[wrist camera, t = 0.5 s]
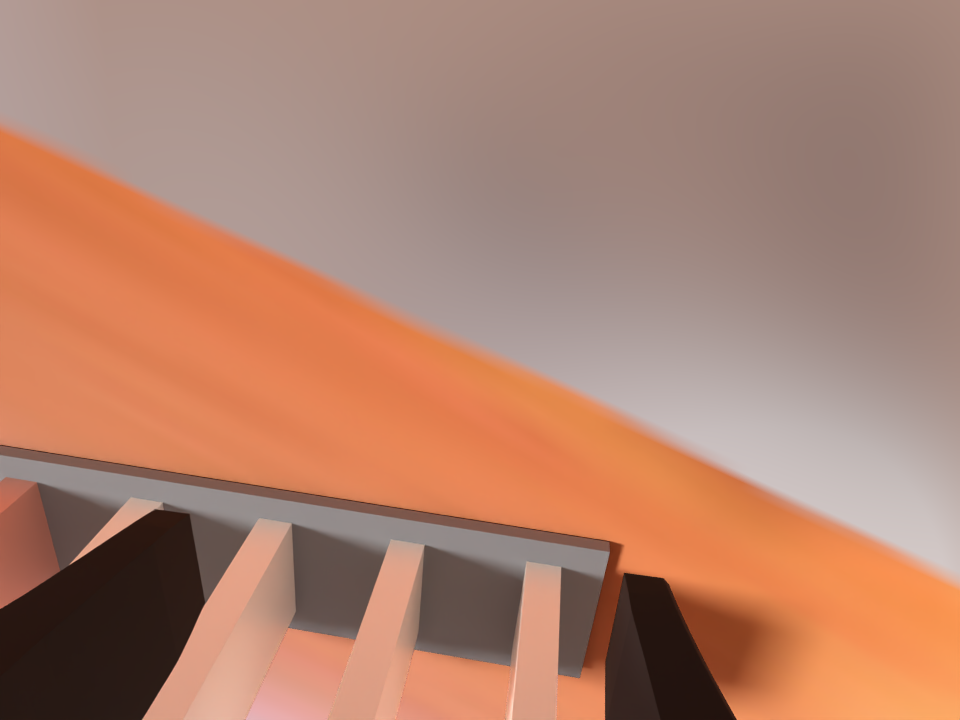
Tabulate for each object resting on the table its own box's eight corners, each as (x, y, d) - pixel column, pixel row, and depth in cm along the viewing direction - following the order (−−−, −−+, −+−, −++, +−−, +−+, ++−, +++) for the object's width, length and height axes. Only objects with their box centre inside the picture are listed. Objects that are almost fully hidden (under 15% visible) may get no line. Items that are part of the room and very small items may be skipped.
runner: (609, 541, 24) (610, 551, 23) (579, 666, 27) (579, 678, 26) (-29, 440, 25) (-40, 448, 25) (11, 569, 28) (2, 578, 28)
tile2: (424, 544, 24) (354, 789, 17) (418, 632, 26) (353, 884, 19) (390, 539, 24) (306, 780, 17) (387, 626, 26) (310, 876, 19)
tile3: (291, 523, 24) (164, 753, 17) (296, 611, 26) (183, 850, 19) (259, 517, 24) (117, 744, 17) (266, 606, 27) (142, 842, 19)
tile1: (561, 566, 24) (552, 826, 16) (544, 653, 26) (529, 919, 18) (526, 561, 24) (502, 817, 16) (512, 648, 26) (484, 910, 18)
